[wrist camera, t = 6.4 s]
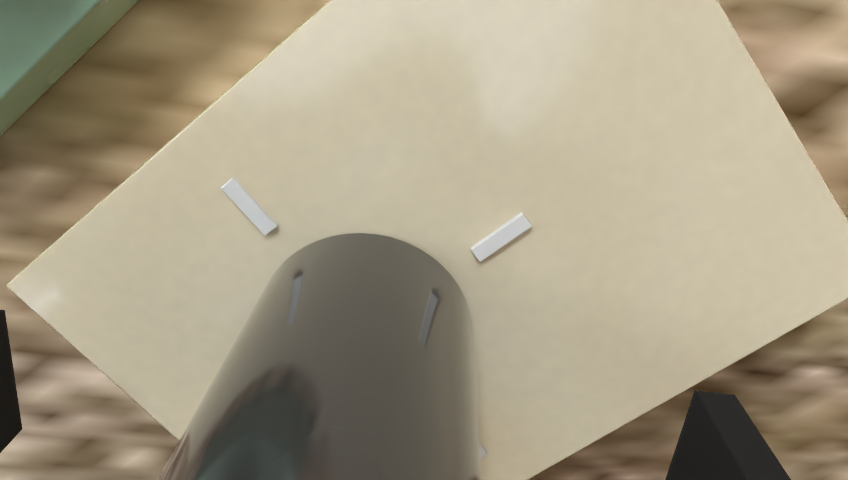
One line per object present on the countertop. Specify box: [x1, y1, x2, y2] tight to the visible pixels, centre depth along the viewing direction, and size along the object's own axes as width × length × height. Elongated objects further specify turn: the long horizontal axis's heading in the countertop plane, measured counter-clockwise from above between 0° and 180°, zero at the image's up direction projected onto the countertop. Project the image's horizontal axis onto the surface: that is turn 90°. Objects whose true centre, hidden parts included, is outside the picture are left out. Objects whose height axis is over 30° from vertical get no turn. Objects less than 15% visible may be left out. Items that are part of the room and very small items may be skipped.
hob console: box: [7, 0, 848, 480], centre depth 16 cm, size 16×12×3 cm
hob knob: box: [158, 233, 482, 480], centre depth 12 cm, size 5×5×8 cm
